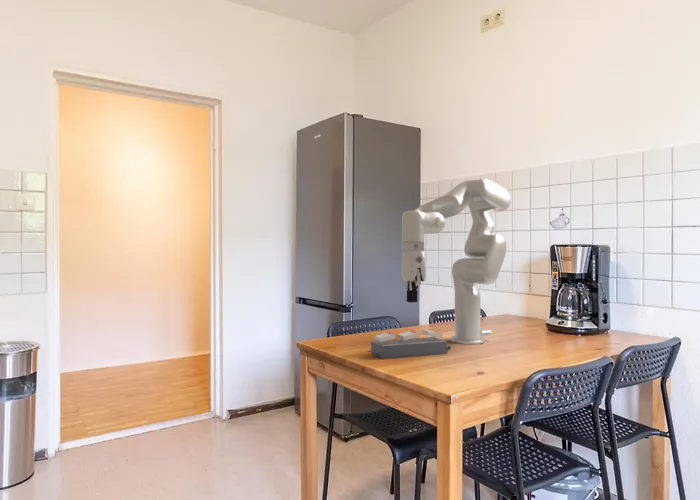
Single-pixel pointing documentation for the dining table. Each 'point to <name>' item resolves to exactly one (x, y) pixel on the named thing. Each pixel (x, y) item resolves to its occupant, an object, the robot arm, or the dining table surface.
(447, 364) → the dining table surface
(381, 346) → the power strip
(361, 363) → the dining table surface
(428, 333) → the plate
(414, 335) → the rocker
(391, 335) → the rocker
